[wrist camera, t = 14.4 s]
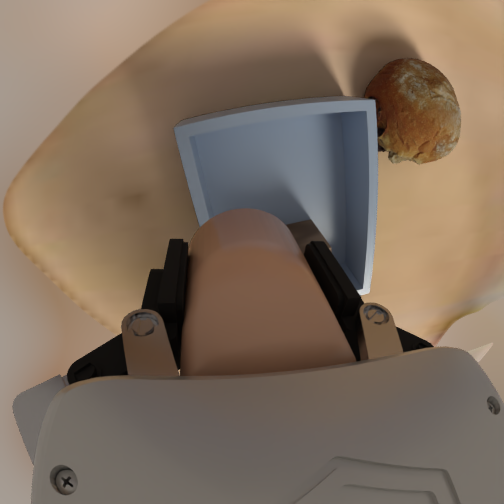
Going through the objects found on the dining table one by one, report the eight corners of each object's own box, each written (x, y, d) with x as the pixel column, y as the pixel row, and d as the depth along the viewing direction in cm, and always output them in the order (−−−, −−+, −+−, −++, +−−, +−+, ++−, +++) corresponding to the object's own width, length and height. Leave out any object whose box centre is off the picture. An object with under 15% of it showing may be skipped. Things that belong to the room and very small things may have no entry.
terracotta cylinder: (305, 211, 12) (386, 329, 6) (286, 300, 15) (327, 420, 9) (186, 206, 11) (169, 343, 5) (188, 300, 14) (187, 433, 8)
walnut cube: (311, 219, 26) (331, 247, 21) (314, 263, 28) (331, 294, 24) (257, 230, 25) (268, 262, 21) (265, 274, 28) (276, 308, 24)
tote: (349, 263, 30) (369, 292, 26) (226, 292, 29) (231, 327, 25) (344, 95, 20) (375, 99, 16) (180, 120, 20) (173, 128, 16)
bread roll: (418, 130, 26) (478, 131, 19) (383, 186, 25) (456, 195, 18) (380, 54, 21) (446, 41, 14) (333, 97, 20) (417, 81, 13)
